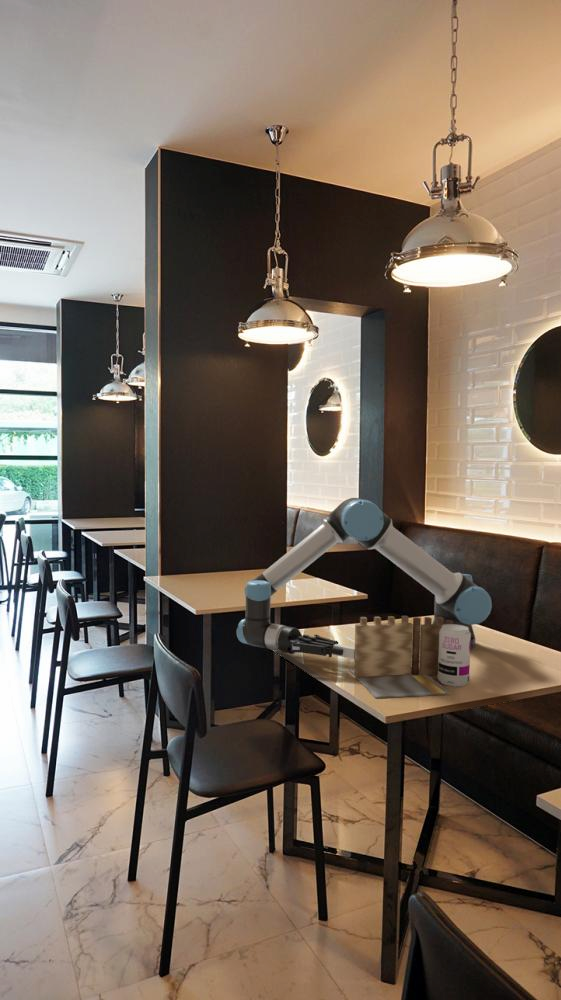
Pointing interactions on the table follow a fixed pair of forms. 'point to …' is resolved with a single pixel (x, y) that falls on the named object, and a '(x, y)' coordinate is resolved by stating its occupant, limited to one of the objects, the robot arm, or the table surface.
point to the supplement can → (454, 655)
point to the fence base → (413, 666)
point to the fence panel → (383, 647)
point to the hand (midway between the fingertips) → (355, 653)
